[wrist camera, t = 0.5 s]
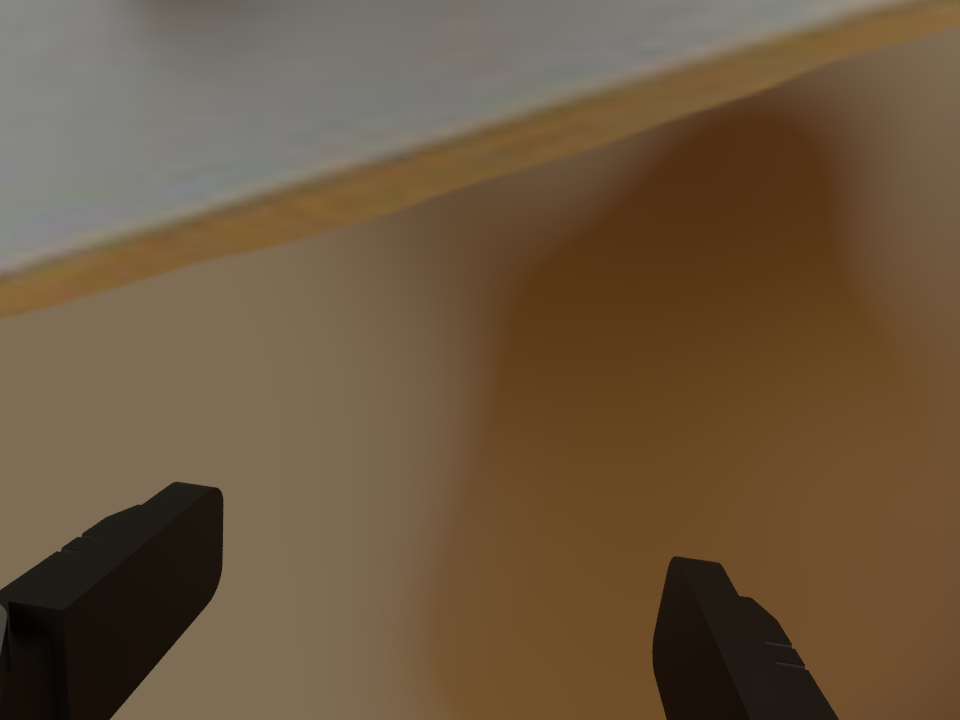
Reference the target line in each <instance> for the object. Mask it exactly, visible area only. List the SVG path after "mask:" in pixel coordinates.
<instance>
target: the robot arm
mask: <svg viewBox="0 0 960 720" xmlns="http://www.w3.org/2000/svg"><path fill="white" fill-rule="evenodd" d="M222 551H223V496H222V493H221V491H220V490H219V488H216V487H209V486H202V485H195V484H189V483H181V482H174V483H172V484H170V485H169V486H167V487H166V488H165V489H163V490H162V491H160V492H159V493H158V494H157V495H155V496H154V497H152V498H151V499H150V500H148V501H147V502H145V503H144V504H142V505H136V506H133V507H131V508H128V509H126V510H124V511H121V512H118V513H116V514H113V515H110V516H108V517H106V518H104V519H103V520H101V521H100V522H99V523H97V524H96V525H94V526H93V527H92V528H90V529H88V530H87V531H85V532H84V533H83V534H82V537H81V538H80V537H77V538H75V539H74V540H72V541H71V542H70V543H68V544H67V545H65V546H64V547H62V550H61V552H55V553H54V554H52V555H51V556H49V557H48V558H46V559H45V560H43V561H42V562H41V563H39V564H38V565H36V566H35V567H33V568H32V569H30V570H29V571H27V572H26V573H25V574H23V575H22V576H20V577H19V578H17V579H16V580H14V581H13V582H11V583H10V584H9V585H7V586H6V587H4V588H3V589H1V590H0V720H110V719H111V717H112V716H113V715H114V714H115V713H116V712H117V710H118V709H119V708H120V707H121V706H122V704H123V703H124V702H125V701H126V700H127V699H128V697H129V696H130V695H131V694H132V693H133V692H134V690H135V689H136V688H137V687H138V686H139V685H140V683H141V682H142V681H143V680H144V679H145V677H146V676H147V675H148V674H149V673H150V671H151V670H152V669H153V668H154V667H155V666H156V665H157V663H158V662H159V661H160V660H161V659H162V657H163V656H164V655H165V654H166V653H167V652H168V650H169V649H170V648H171V647H172V646H173V645H174V643H175V642H176V641H177V640H178V638H180V636H181V635H182V634H183V633H184V632H185V630H186V629H187V628H188V627H189V626H190V625H191V623H192V622H193V621H194V620H195V619H196V617H197V616H198V615H199V614H200V613H201V612H202V610H203V609H204V608H205V607H206V606H207V605H208V603H209V602H210V601H211V599H212V597H213V595H214V594H215V591H216V589H217V587H218V584H219V580H220V577H221V572H222V555H223V552H222ZM652 652H653V669H654V674H655V678H656V682H657V686H658V689H659V693H660V697H661V700H662V704H663V707H664V711H665V715H666V718H667V720H839V719H838V717H837V716H836V714H835V713H834V711H833V709H832V708H831V706H830V705H829V703H828V701H827V700H826V698H825V697H824V695H823V693H822V692H821V690H820V689H819V687H818V686H817V684H816V682H815V680H814V679H813V677H812V676H811V674H810V672H809V671H808V670H805V664H804V663H803V661H802V660H801V658H800V657H799V655H798V654H797V652H796V650H795V649H792V643H791V642H790V640H789V639H788V637H787V635H786V634H785V632H784V631H783V629H782V627H781V626H780V624H779V623H778V621H777V620H776V619H775V618H774V617H773V616H772V615H771V614H769V613H768V612H767V611H766V610H765V609H764V608H763V607H761V606H760V605H759V604H758V603H757V602H756V601H754V600H753V599H752V598H749V597H742V596H739V595H738V594H737V592H736V590H735V588H734V586H733V584H732V583H731V581H730V579H729V577H728V576H727V574H726V572H725V570H724V568H723V567H722V565H721V564H720V563H718V562H710V561H704V560H697V559H690V558H684V557H676V556H675V557H673V558H672V559H671V561H670V563H669V566H668V571H667V575H666V580H665V584H664V589H663V594H662V599H661V603H660V608H659V613H658V618H657V622H656V627H655V632H654V637H653V651H652Z"/></svg>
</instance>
